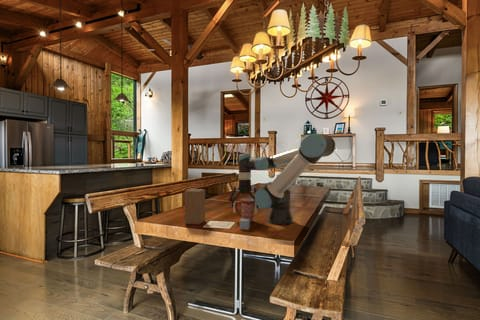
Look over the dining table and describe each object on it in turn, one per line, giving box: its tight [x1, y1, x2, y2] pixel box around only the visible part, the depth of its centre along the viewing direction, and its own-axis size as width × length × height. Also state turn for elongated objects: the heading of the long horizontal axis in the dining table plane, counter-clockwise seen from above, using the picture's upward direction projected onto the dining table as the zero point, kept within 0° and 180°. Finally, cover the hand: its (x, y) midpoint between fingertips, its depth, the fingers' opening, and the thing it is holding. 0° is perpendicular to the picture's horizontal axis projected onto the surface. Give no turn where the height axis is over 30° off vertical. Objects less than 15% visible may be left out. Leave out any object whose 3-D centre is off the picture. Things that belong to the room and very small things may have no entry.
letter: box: [202, 220, 236, 230], centre depth 164 cm, size 16×14×1 cm
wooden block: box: [184, 188, 206, 226], centre depth 169 cm, size 10×10×20 cm
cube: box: [239, 217, 251, 231], centre depth 157 cm, size 5×5×5 cm
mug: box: [235, 198, 256, 223], centre depth 173 cm, size 13×9×14 cm
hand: (245, 213), depth 173 cm, fingers open, 13 cm apart
